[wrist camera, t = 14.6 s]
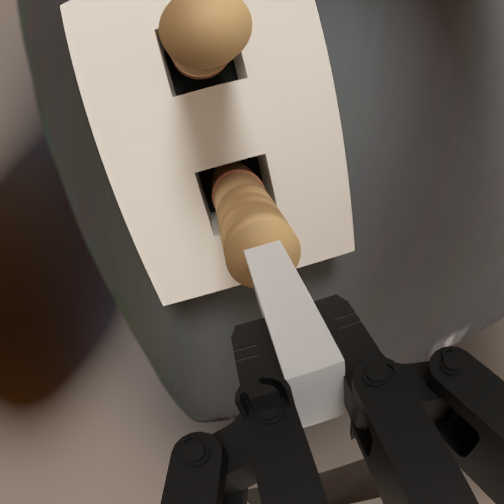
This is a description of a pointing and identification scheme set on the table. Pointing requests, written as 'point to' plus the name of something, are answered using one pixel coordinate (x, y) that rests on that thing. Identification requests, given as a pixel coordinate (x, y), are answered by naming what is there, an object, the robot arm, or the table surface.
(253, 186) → the honey-oak peg
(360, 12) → the table surface
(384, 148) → the table surface
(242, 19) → the seated peg
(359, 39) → the table surface
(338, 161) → the off-white board
